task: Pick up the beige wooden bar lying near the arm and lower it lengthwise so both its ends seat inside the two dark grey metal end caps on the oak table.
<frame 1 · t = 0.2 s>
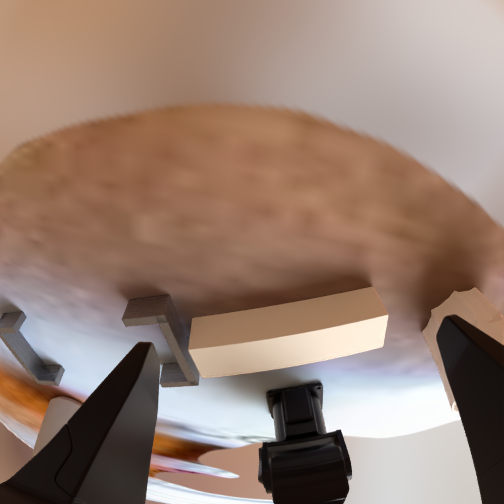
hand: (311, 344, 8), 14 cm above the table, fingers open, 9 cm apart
cup: (452, 315, 29), on the table
end caps: (90, 341, 28), on the table
can: (73, 406, 36), on the table
beige wooden bar: (285, 318, 27), on the table
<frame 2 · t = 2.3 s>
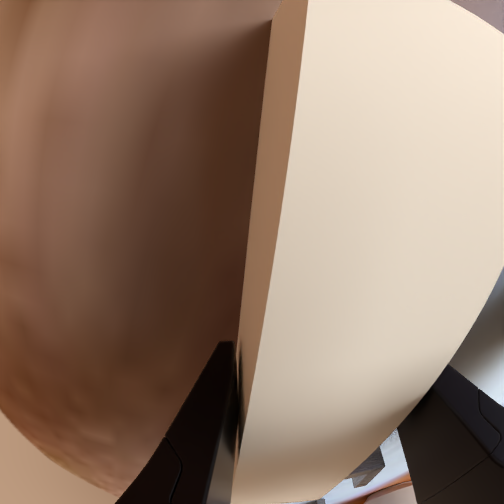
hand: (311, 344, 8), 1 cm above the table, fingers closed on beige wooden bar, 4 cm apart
end caps: (280, 489, 19), on the table
can: (389, 489, 26), on the table
beige wooden bar: (304, 317, 9), on the table, touching gripper
when the fingers open (2 cm above the table, at t = 7.1 s): beige wooden bar drops 1 cm, on the table.
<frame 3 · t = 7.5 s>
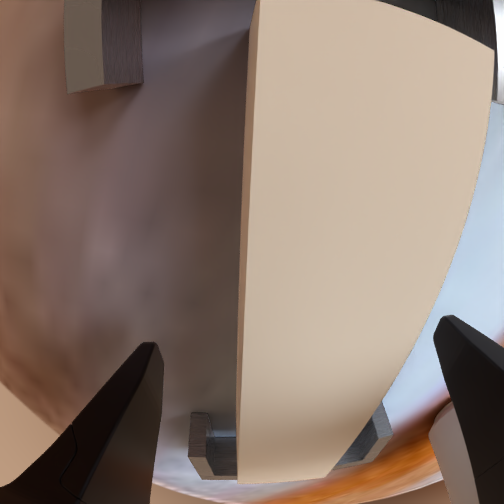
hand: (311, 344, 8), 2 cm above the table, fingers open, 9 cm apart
end caps: (299, 301, 10), on the table
can: (466, 401, 17), on the table
beige wooden bar: (297, 294, 10), on the table
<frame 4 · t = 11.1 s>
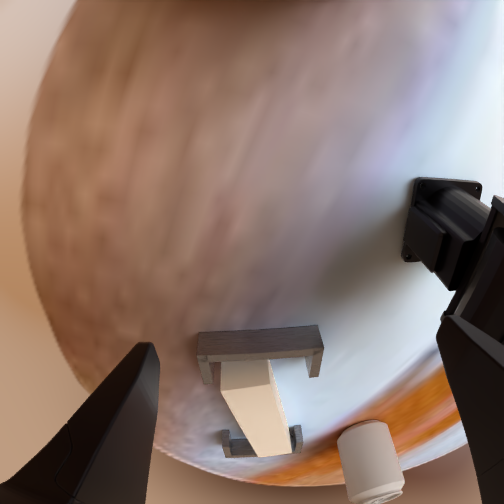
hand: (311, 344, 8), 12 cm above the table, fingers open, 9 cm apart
end caps: (260, 400, 30), on the table
can: (360, 428, 37), on the table
beige wooden bar: (260, 397, 30), on the table
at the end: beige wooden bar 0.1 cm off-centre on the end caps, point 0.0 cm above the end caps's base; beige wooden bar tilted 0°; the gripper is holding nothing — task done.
